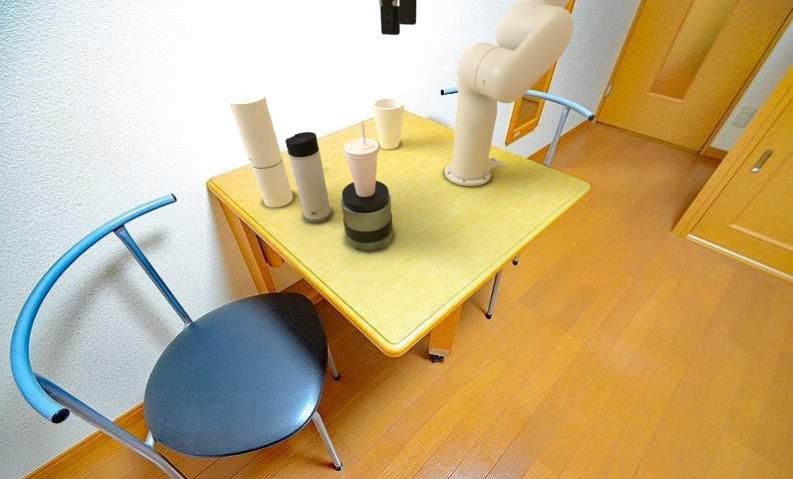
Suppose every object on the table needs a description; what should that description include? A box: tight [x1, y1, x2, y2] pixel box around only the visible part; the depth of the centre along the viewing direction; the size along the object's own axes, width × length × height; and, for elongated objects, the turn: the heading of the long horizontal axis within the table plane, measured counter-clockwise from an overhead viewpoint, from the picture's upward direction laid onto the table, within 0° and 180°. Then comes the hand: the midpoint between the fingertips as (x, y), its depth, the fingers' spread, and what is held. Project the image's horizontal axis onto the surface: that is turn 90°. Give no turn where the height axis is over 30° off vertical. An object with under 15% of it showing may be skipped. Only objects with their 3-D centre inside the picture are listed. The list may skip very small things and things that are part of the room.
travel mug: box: [285, 131, 332, 224], centre depth 71 cm, size 6×7×20 cm
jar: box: [340, 180, 393, 252], centre depth 68 cm, size 10×10×12 cm
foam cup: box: [371, 97, 405, 150], centre depth 100 cm, size 10×9×13 cm
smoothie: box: [343, 120, 380, 197], centre depth 59 cm, size 6×6×14 cm
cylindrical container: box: [227, 91, 294, 208], centre depth 74 cm, size 7×7×25 cm
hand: (399, 29), depth 59 cm, fingers open, 9 cm apart
